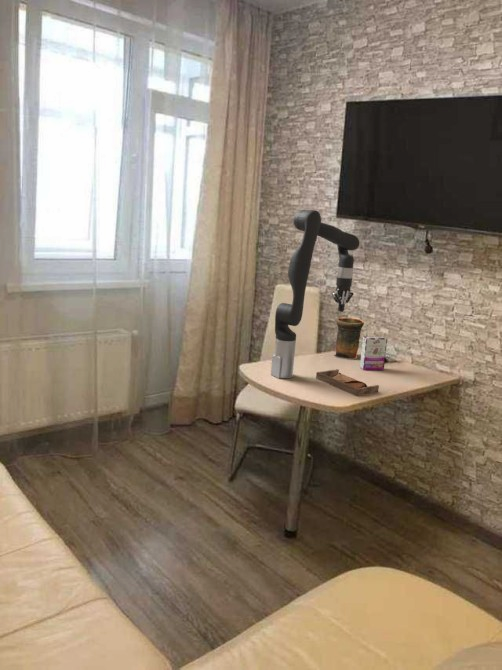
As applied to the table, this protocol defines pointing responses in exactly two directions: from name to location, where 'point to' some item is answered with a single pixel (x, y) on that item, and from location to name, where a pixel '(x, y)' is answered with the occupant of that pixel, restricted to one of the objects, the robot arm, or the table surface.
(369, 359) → the candy bar box
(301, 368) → the table surface
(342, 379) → the sunglasses case
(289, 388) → the table surface
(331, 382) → the tray
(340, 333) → the vessel
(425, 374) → the table surface
